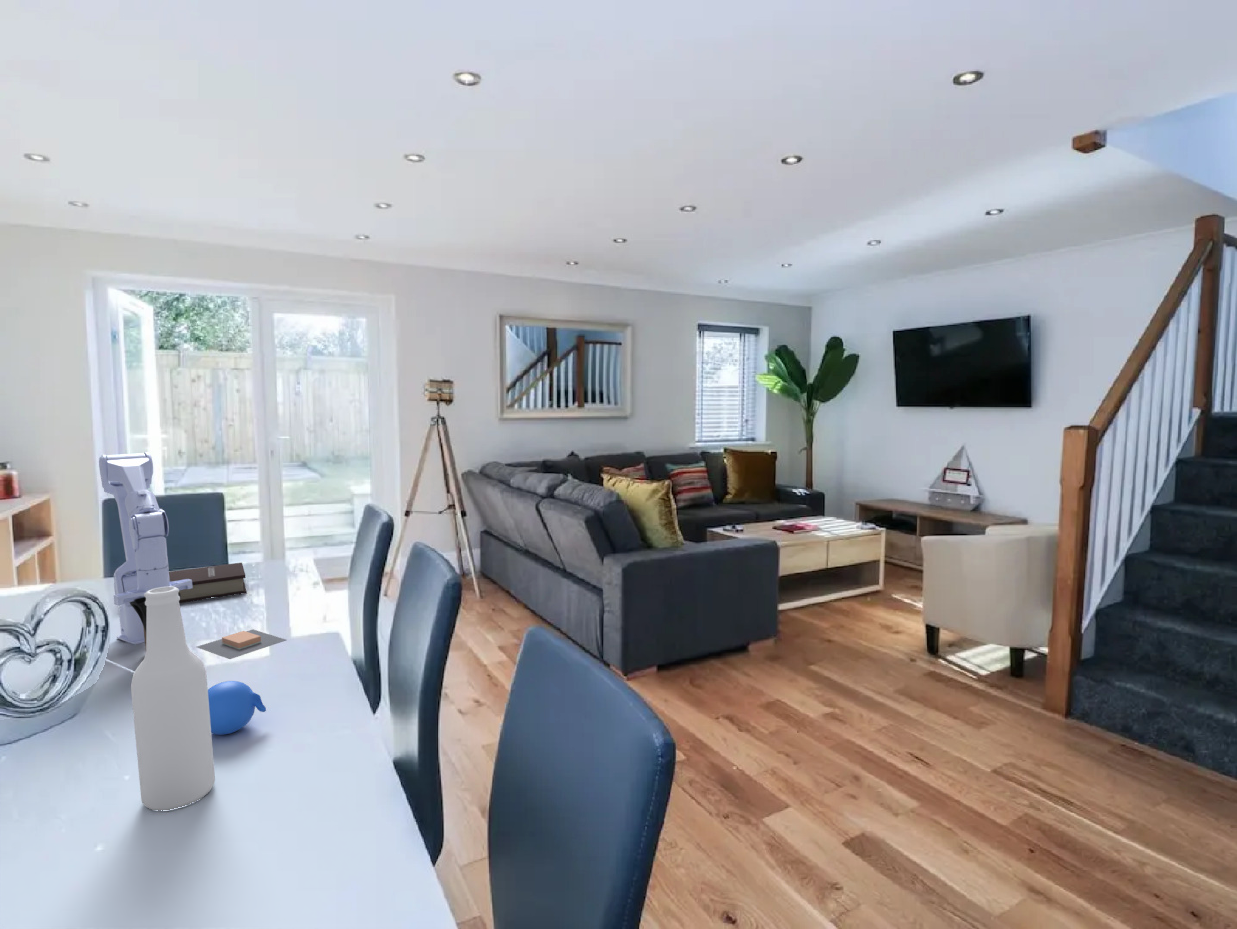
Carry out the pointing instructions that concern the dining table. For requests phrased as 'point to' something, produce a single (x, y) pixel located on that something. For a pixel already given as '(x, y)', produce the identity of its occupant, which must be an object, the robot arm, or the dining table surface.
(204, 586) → the book
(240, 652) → the mat
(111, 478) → the robot arm
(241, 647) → the tile
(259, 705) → the blue rounded blob
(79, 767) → the dining table surface
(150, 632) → the alcohol
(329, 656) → the dining table surface
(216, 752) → the dining table surface
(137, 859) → the dining table surface
